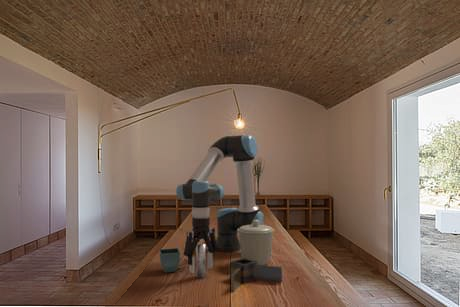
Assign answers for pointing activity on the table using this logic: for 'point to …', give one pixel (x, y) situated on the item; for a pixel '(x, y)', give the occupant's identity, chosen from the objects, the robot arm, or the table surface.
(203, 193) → the robot arm
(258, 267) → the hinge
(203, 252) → the hinge pin
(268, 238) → the canister
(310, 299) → the table surface
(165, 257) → the flower pot
